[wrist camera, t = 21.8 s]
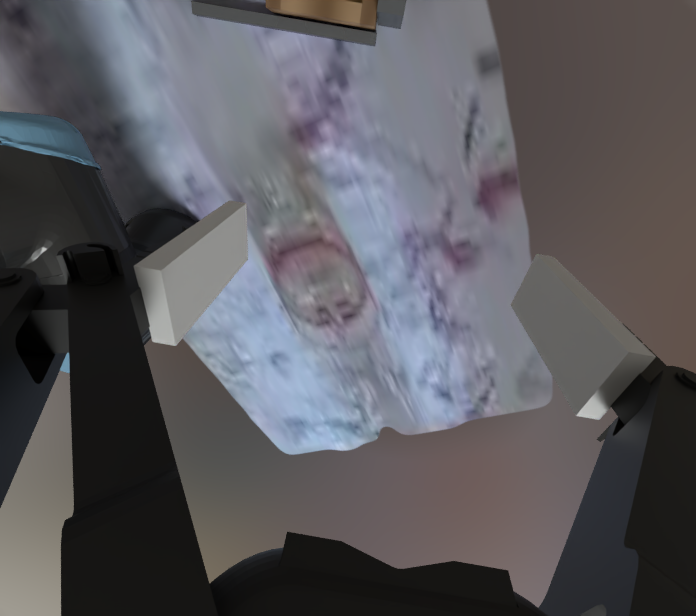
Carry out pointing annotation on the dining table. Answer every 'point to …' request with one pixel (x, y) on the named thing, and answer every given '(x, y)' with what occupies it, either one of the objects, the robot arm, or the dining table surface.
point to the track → (387, 15)
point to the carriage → (330, 11)
